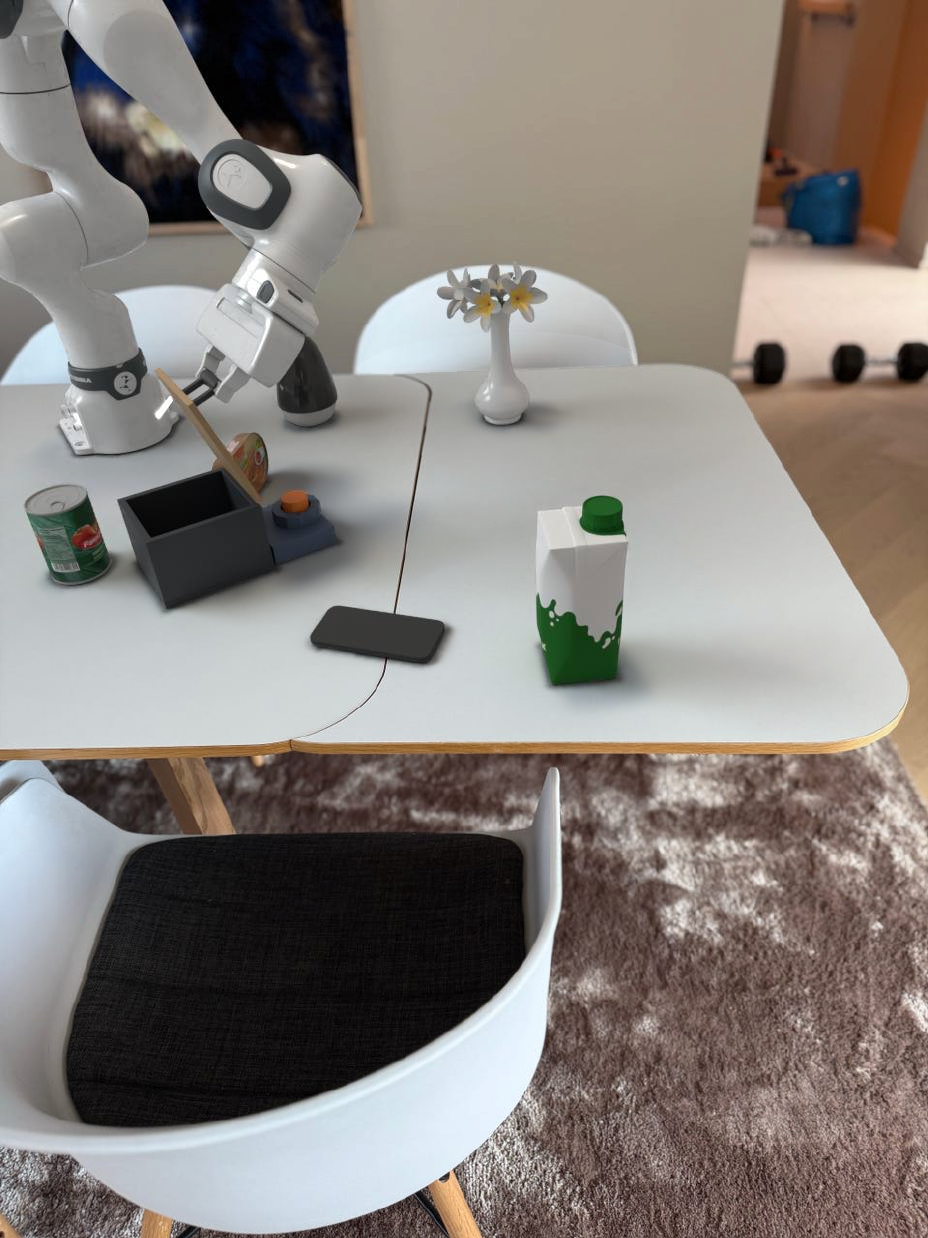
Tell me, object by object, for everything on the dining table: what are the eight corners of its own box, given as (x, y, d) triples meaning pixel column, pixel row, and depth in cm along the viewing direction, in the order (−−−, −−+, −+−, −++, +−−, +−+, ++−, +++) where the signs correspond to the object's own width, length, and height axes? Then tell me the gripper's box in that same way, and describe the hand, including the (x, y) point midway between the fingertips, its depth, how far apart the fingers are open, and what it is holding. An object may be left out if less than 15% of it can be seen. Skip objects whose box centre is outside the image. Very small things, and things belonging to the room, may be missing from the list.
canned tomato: (50, 562, 126) (22, 492, 119) (108, 547, 128) (84, 477, 121) (53, 591, 120) (24, 519, 113) (114, 575, 122) (89, 504, 116)
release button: (289, 517, 124) (286, 505, 123) (278, 506, 126) (276, 495, 125) (313, 508, 125) (311, 497, 124) (302, 498, 128) (300, 487, 127)
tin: (236, 522, 132) (223, 470, 126) (215, 521, 132) (202, 469, 127) (273, 472, 143) (263, 422, 138) (254, 471, 144) (244, 422, 139)
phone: (427, 659, 103) (306, 640, 107) (427, 665, 103) (307, 645, 107) (447, 620, 109) (331, 603, 112) (447, 626, 109) (332, 609, 113)
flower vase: (467, 395, 163) (458, 249, 147) (563, 410, 155) (564, 258, 140) (432, 425, 154) (418, 273, 138) (532, 442, 146) (530, 284, 131)
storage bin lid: (187, 406, 104) (226, 379, 105) (153, 370, 113) (189, 346, 114) (257, 504, 115) (292, 478, 116) (221, 464, 124) (253, 441, 125)
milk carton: (626, 683, 99) (636, 525, 87) (543, 691, 99) (542, 534, 87) (609, 634, 106) (616, 481, 94) (532, 641, 106) (529, 490, 94)
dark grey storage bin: (166, 609, 115) (145, 543, 109) (137, 562, 124) (116, 499, 119) (275, 570, 121) (261, 505, 115) (239, 528, 130) (224, 465, 124)
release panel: (276, 564, 122) (270, 536, 119) (246, 530, 130) (240, 502, 127) (338, 542, 126) (333, 514, 123) (306, 509, 133) (301, 482, 131)
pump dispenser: (325, 402, 164) (311, 318, 154) (350, 421, 156) (338, 334, 147) (272, 417, 160) (255, 332, 150) (296, 438, 152) (279, 350, 143)
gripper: (219, 258, 114) (162, 352, 116) (282, 298, 100) (216, 405, 102) (260, 286, 118) (204, 377, 121) (325, 329, 104) (261, 431, 106)
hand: (210, 390), depth 111 cm, fingers closed on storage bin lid, 5 cm apart
